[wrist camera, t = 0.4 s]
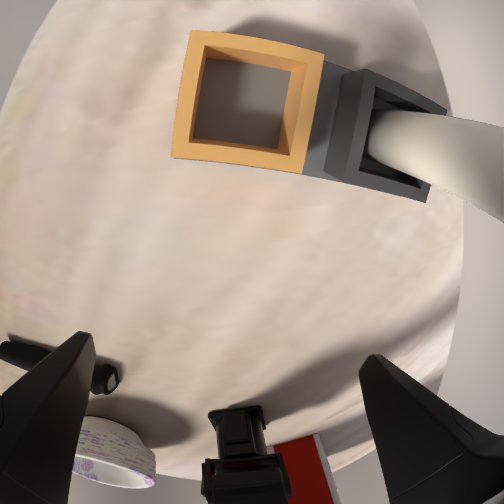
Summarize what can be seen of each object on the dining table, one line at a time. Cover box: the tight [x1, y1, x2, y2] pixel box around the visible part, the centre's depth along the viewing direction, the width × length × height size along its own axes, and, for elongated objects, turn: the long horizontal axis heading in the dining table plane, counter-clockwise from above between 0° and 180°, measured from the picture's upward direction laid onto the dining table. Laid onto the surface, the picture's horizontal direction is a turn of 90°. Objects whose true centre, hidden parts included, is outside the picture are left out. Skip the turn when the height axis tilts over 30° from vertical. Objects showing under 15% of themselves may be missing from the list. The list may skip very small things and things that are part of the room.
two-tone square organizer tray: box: [170, 30, 447, 203], centre depth 14 cm, size 16×8×4 cm, turn 80°
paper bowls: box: [72, 416, 156, 488], centre depth 27 cm, size 15×15×8 cm
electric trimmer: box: [0, 341, 119, 395], centre depth 22 cm, size 4×16×3 cm, turn 76°
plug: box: [362, 109, 504, 222], centre depth 10 cm, size 4×4×13 cm
